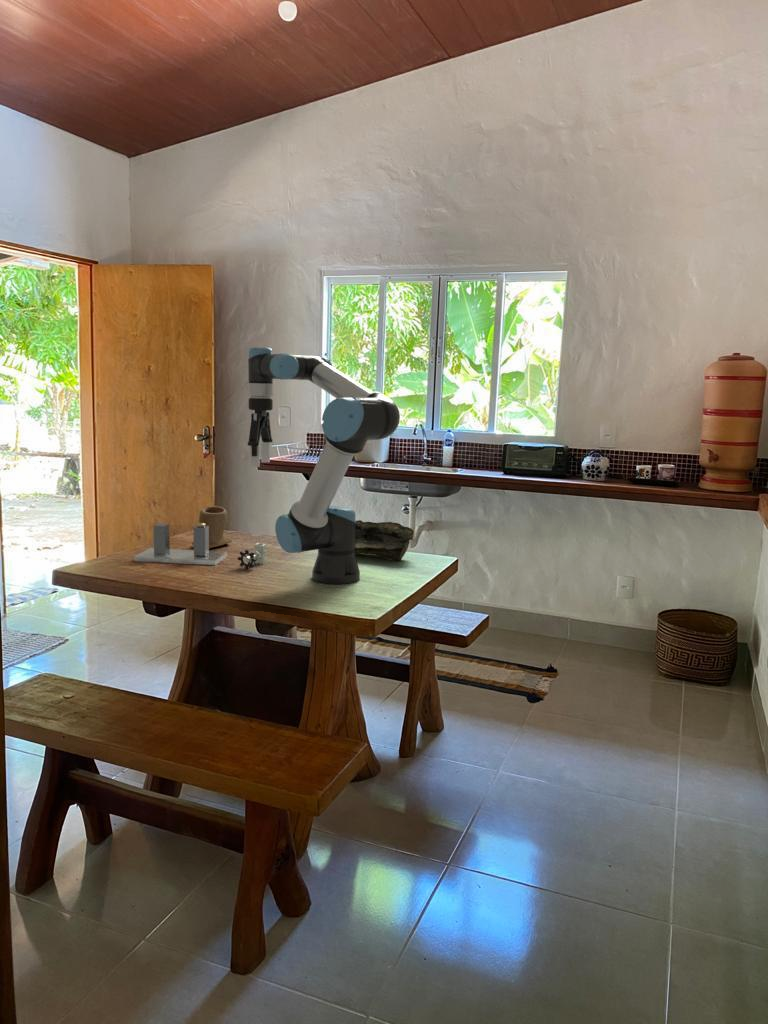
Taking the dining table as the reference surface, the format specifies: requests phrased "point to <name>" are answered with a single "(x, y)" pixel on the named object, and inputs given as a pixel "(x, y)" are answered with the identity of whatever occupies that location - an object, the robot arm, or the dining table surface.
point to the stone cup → (215, 525)
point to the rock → (382, 539)
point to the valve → (254, 556)
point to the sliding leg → (201, 539)
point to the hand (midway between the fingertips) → (260, 464)
